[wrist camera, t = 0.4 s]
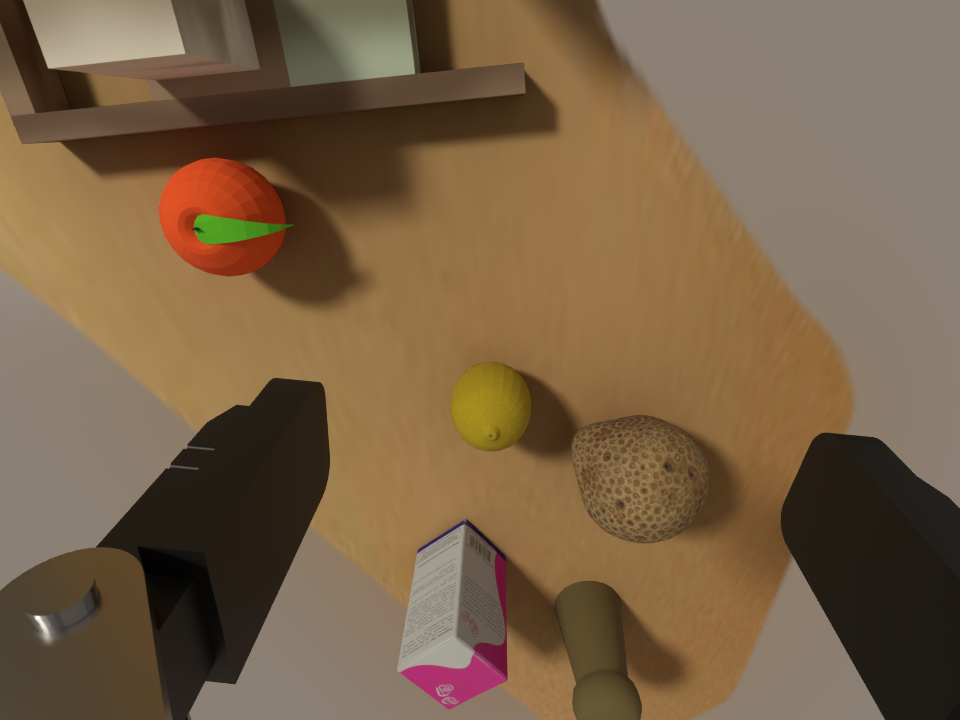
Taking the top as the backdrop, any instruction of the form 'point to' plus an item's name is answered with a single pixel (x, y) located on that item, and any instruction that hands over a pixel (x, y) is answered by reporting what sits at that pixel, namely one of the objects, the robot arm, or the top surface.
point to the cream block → (145, 37)
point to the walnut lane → (255, 74)
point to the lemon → (491, 406)
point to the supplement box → (456, 617)
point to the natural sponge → (640, 477)
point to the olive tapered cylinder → (597, 652)
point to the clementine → (222, 217)
